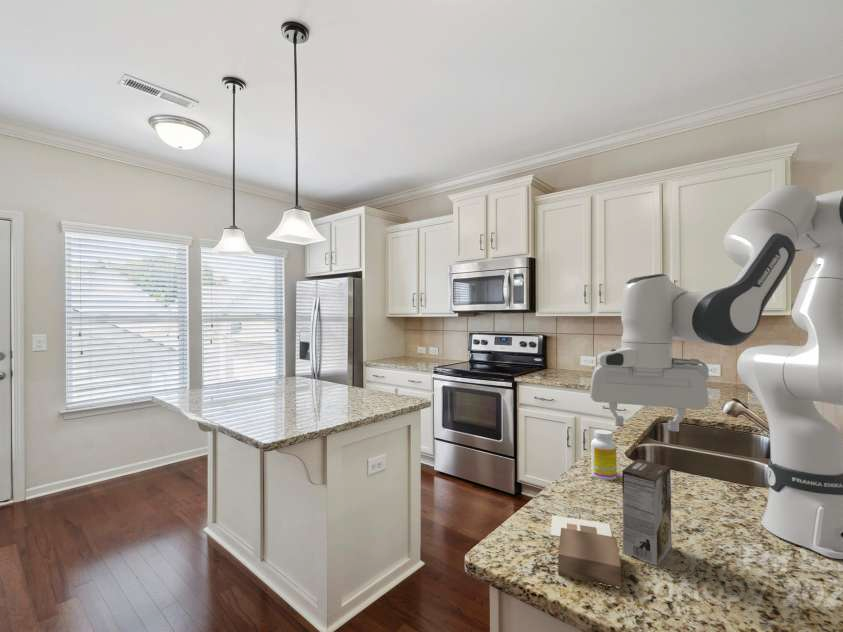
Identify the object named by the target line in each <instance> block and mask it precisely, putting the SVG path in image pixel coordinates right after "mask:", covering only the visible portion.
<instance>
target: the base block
mask: <svg viewBox="0 0 843 632" xmlns="http://www.w3.org/2000/svg"><path fill="white" fill-rule="evenodd" d="M620 559H621V557H620V552H619V545H618V537H617V536H612V537H611V536H605V535H600V534H594V533H588V532H583V531H577V530H571V529H566V528H561V534H560V537H559V544H558V553H557V567H558V568H557V575H558V576H561V577H565V578H571V579H574V578H575V579H574V580H578V579H579V581H584V582H588V581H590V582H589V583H592V582H596V583H595V584H597V583H602V584H606V585H611V586H617V587H621V588H622V568H621V567H622V566H621V565H622V564H621V560H620ZM602 584H601V585H602ZM606 585H605V586H606ZM611 586H610V587H611Z"/></svg>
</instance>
